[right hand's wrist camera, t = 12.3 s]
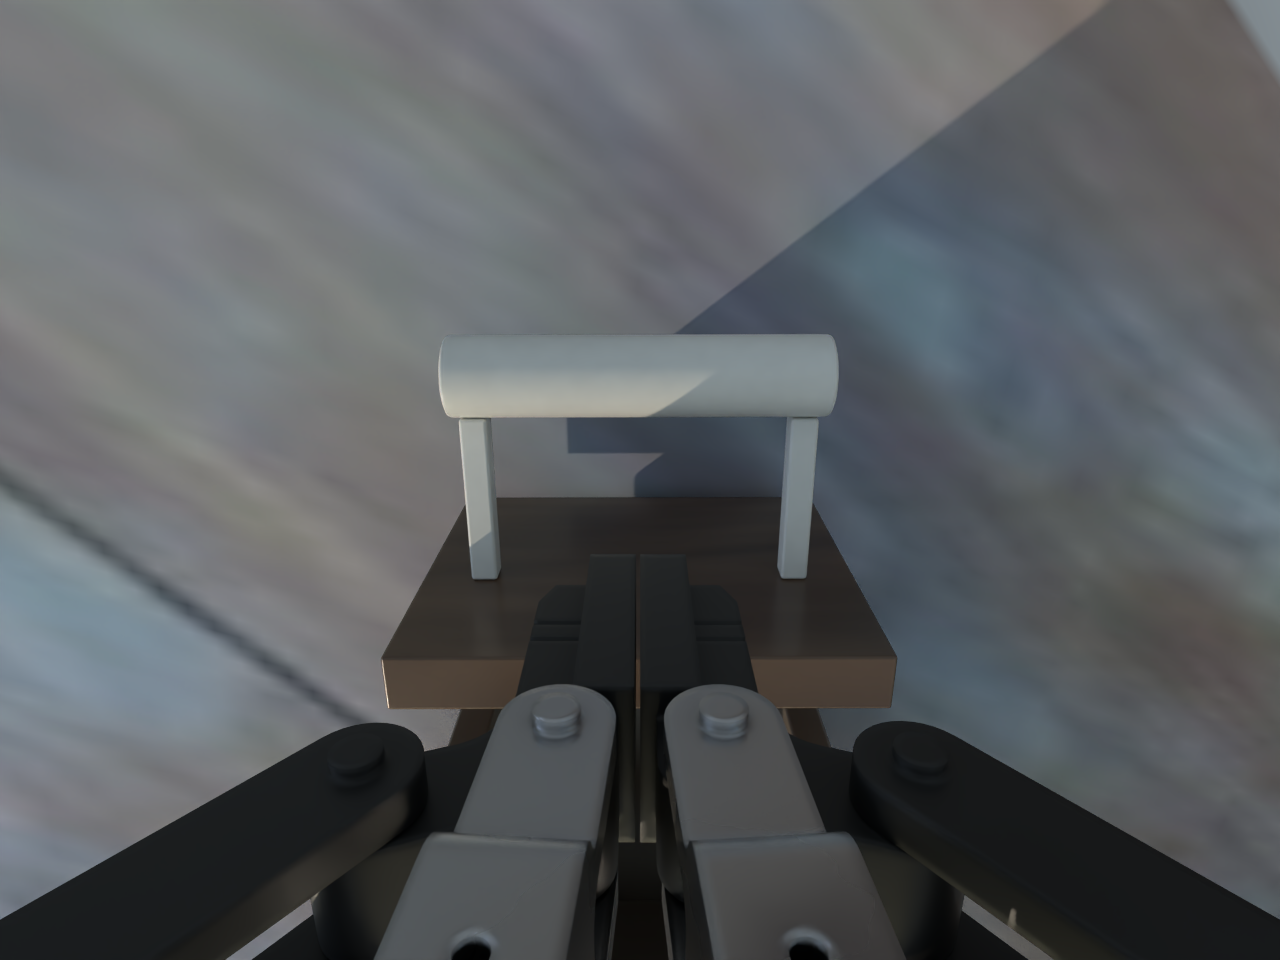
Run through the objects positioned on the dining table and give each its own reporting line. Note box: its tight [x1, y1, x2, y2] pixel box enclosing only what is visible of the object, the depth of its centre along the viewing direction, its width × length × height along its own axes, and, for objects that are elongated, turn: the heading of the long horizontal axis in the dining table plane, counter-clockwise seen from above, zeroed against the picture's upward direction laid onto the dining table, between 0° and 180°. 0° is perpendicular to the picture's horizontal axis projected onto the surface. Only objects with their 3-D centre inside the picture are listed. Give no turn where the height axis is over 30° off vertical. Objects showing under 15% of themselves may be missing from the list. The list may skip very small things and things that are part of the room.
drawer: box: [381, 334, 897, 960], centre depth 21 cm, size 21×10×8 cm, turn 0°
